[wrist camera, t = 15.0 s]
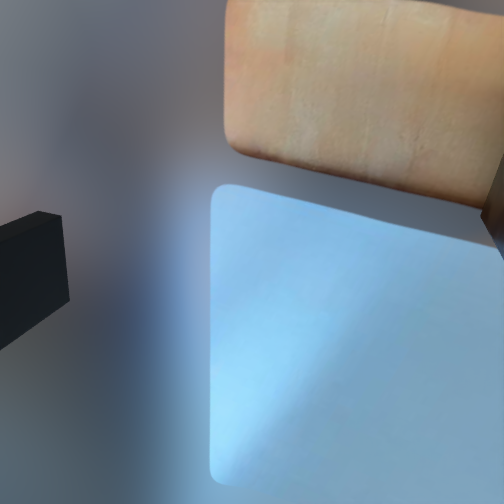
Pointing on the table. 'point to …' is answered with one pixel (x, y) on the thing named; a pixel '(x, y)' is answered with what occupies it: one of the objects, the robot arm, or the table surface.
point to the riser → (496, 209)
